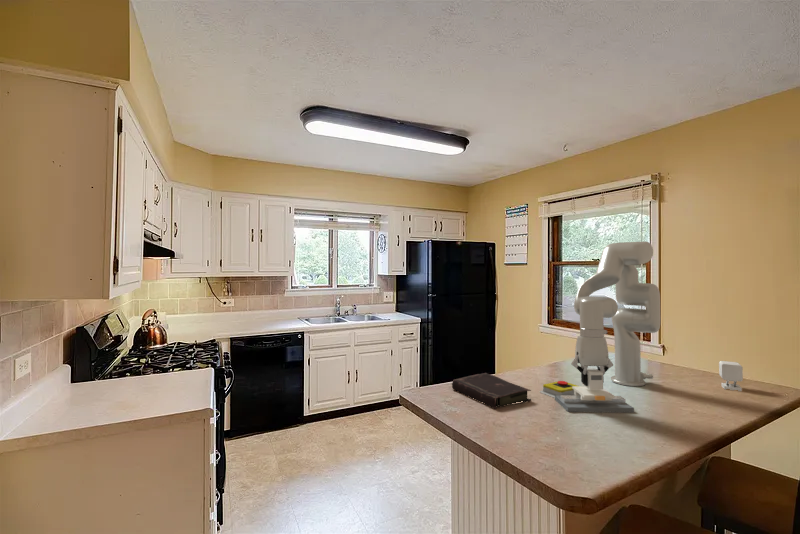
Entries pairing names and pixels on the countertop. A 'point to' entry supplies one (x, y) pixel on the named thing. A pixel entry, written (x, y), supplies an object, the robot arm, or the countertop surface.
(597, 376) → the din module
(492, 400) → the diary
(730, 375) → the security camera
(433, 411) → the countertop surface
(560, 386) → the emergency button
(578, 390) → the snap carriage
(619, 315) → the robot arm
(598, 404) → the rail mount
